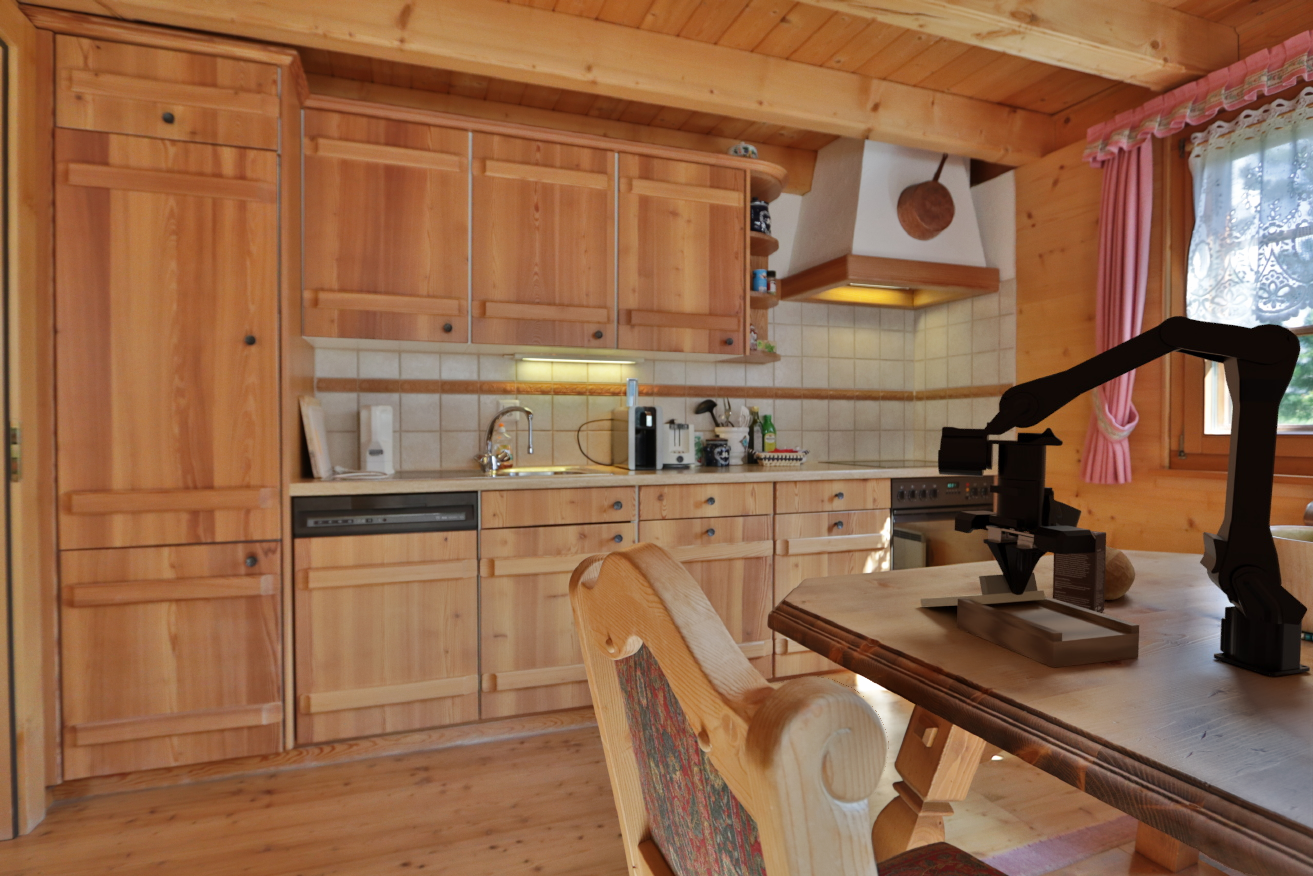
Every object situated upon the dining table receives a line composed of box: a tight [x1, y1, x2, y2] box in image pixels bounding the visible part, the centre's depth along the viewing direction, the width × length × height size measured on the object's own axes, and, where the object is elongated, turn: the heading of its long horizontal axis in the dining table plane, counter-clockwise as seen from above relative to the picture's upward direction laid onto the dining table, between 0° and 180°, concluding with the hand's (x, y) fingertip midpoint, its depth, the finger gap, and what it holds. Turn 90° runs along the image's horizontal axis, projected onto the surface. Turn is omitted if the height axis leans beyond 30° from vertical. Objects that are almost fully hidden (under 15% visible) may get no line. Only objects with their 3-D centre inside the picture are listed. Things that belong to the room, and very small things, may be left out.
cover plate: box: [919, 571, 1046, 608], centre depth 103 cm, size 14×10×4 cm
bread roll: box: [1105, 545, 1136, 601], centre depth 117 cm, size 10×15×8 cm, turn 153°
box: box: [1052, 530, 1107, 613], centre depth 107 cm, size 6×4×12 cm
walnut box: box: [956, 595, 1140, 668], centre depth 91 cm, size 16×13×4 cm
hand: (1017, 594), depth 95 cm, fingers closed
